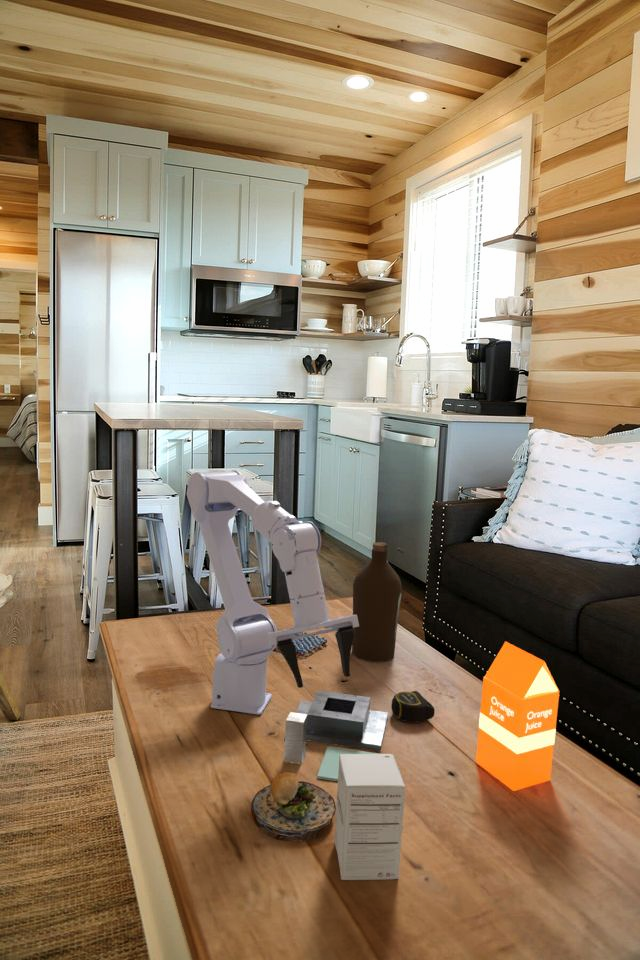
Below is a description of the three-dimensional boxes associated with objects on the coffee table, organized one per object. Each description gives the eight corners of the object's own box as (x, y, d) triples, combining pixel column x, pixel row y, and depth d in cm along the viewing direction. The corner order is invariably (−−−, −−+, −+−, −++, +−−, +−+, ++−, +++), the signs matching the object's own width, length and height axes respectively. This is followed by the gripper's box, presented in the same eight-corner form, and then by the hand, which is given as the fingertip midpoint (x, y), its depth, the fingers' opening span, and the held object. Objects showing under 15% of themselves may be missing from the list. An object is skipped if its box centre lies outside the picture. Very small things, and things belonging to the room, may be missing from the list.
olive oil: (356, 664, 150) (363, 550, 147) (343, 645, 161) (350, 538, 157) (403, 662, 153) (411, 549, 149) (388, 643, 163) (395, 538, 159)
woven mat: (264, 650, 157) (265, 641, 157) (291, 636, 166) (292, 628, 166) (304, 661, 152) (304, 652, 151) (329, 646, 161) (330, 638, 160)
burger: (327, 850, 91) (330, 797, 90) (239, 835, 93) (241, 783, 92) (341, 797, 103) (344, 749, 102) (263, 785, 105) (265, 738, 104)
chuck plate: (285, 737, 119) (286, 714, 118) (301, 705, 130) (302, 685, 130) (380, 751, 116) (381, 728, 115) (387, 717, 127) (389, 696, 127)
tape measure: (435, 724, 126) (437, 704, 126) (400, 728, 124) (401, 708, 124) (418, 707, 133) (420, 688, 132) (384, 710, 131) (386, 691, 130)
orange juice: (513, 791, 106) (525, 665, 103) (474, 762, 114) (485, 643, 111) (551, 780, 110) (564, 657, 107) (511, 752, 118) (522, 637, 115)
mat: (317, 778, 107) (317, 775, 107) (327, 748, 116) (327, 746, 116) (376, 787, 105) (376, 784, 105) (382, 756, 114) (382, 754, 114)
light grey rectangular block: (284, 761, 111) (286, 720, 110) (288, 752, 114) (290, 712, 113) (301, 764, 111) (303, 722, 110) (305, 755, 113) (307, 714, 112)
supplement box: (333, 842, 93) (338, 752, 91) (388, 841, 93) (395, 752, 91) (339, 882, 85) (345, 785, 84) (399, 881, 86) (406, 785, 84)
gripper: (264, 605, 109) (281, 694, 107) (355, 586, 112) (372, 673, 110) (261, 605, 116) (277, 689, 114) (346, 588, 119) (363, 669, 117)
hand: (323, 681), depth 112 cm, fingers open, 7 cm apart
